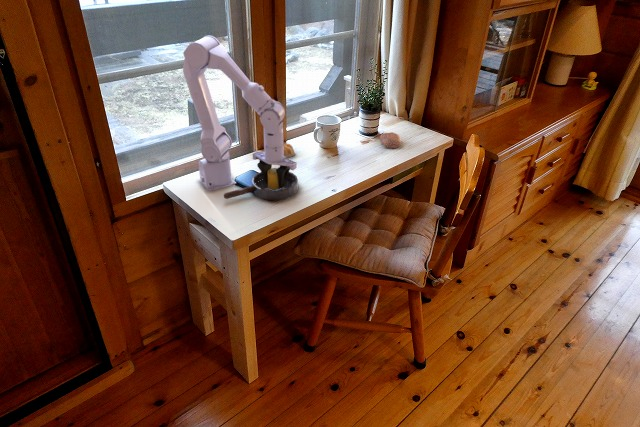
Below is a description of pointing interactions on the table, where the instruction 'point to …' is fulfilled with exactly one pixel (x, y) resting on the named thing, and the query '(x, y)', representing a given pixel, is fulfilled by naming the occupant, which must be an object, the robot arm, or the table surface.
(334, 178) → the table surface
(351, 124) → the table surface
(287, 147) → the pastry
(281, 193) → the skillet
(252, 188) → the skillet handle
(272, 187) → the yellow cylinder
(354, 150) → the table surface
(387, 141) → the pinkish-brown rounded lump
